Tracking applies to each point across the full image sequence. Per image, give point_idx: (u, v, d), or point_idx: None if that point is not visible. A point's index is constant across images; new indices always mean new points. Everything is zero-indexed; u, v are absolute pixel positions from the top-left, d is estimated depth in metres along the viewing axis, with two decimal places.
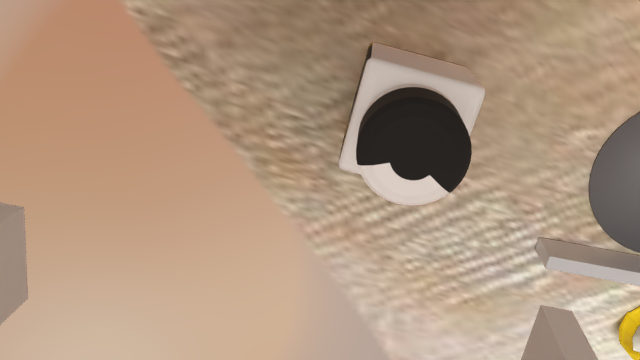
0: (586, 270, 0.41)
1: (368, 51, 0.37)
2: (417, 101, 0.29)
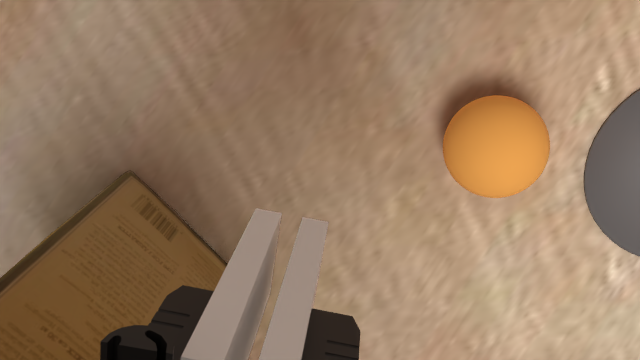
0: None
1: None
2: None
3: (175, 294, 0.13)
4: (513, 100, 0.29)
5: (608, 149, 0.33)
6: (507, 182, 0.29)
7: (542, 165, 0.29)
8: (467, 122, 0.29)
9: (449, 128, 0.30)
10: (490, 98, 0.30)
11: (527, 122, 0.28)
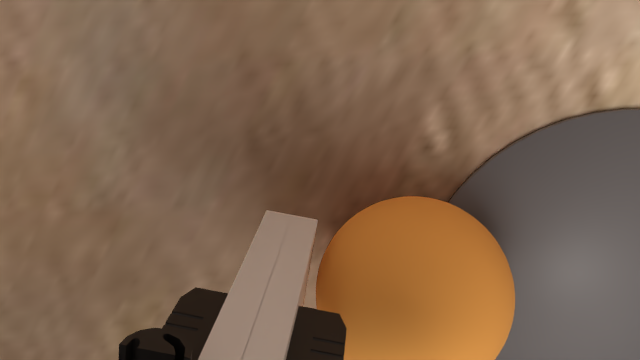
0: None
1: None
2: None
3: (189, 297, 0.13)
4: (445, 205, 0.15)
5: None
6: None
7: None
8: (494, 293, 0.14)
9: (459, 332, 0.14)
10: (449, 227, 0.14)
11: None
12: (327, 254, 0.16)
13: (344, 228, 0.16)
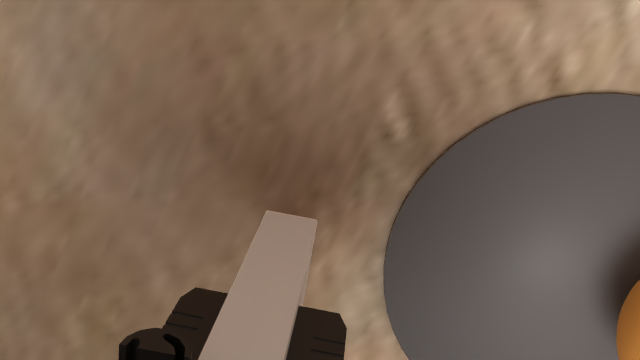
0: None
1: None
2: None
3: (189, 297, 0.13)
4: None
5: (418, 244, 0.18)
6: None
7: None
8: None
9: None
10: None
11: None
12: None
13: None
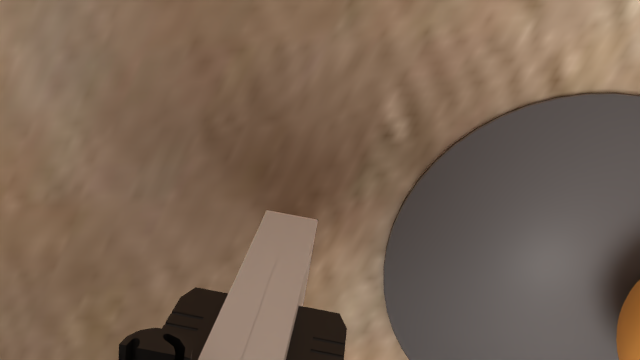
0: None
1: None
2: None
3: (189, 297, 0.13)
4: None
5: (418, 244, 0.18)
6: None
7: None
8: None
9: None
10: None
11: None
12: None
13: None
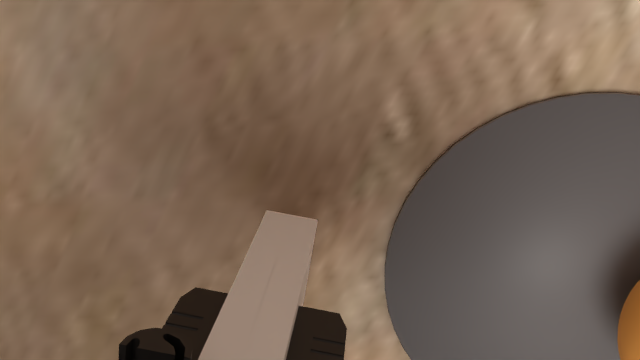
0: None
1: None
2: None
3: (189, 297, 0.13)
4: None
5: (419, 243, 0.18)
6: None
7: None
8: None
9: None
10: None
11: None
12: None
13: None
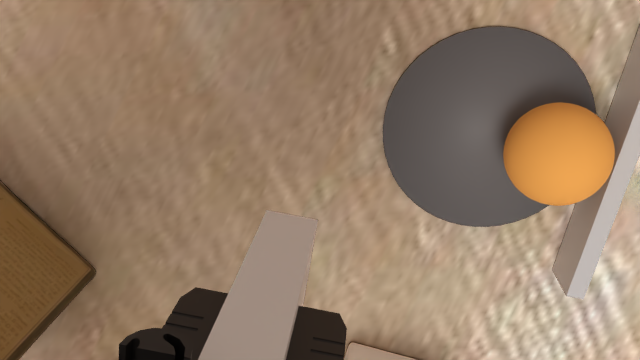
0: (591, 256, 0.32)
1: None
2: None
3: (189, 297, 0.13)
4: (572, 106, 0.29)
5: (401, 112, 0.33)
6: (529, 179, 0.29)
7: (573, 173, 0.28)
8: (519, 118, 0.31)
9: None
10: None
11: (563, 124, 0.28)
12: None
13: None
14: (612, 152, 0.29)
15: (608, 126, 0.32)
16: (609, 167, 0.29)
